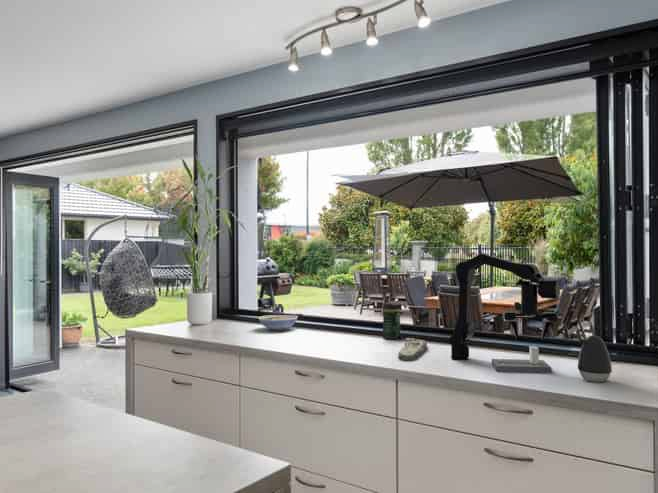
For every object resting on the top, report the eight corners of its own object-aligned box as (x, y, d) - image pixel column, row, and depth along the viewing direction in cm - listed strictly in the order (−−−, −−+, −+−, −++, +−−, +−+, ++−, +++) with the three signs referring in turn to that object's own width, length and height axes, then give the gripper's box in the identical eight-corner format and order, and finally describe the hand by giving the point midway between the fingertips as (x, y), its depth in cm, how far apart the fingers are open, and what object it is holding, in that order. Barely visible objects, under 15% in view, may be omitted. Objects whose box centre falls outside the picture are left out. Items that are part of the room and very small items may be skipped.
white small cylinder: (531, 363, 186) (531, 348, 186) (529, 361, 190) (529, 346, 190) (539, 363, 185) (538, 348, 185) (536, 361, 189) (536, 346, 189)
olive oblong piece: (392, 364, 206) (416, 367, 202) (392, 351, 205) (417, 354, 202) (408, 343, 239) (429, 346, 235) (409, 332, 238) (430, 334, 235)
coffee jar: (394, 340, 250) (393, 302, 250) (380, 338, 255) (379, 302, 255) (403, 337, 258) (402, 301, 258) (390, 335, 263) (389, 300, 263)
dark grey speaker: (571, 377, 174) (570, 333, 175) (599, 376, 175) (598, 332, 175) (588, 385, 164) (587, 338, 164) (618, 383, 165) (618, 337, 165)
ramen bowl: (251, 332, 280) (250, 318, 280) (263, 326, 302) (263, 312, 302) (295, 333, 275) (294, 318, 276) (303, 326, 298) (303, 313, 298)
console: (496, 371, 184) (496, 365, 184) (491, 364, 196) (491, 358, 196) (551, 372, 181) (551, 366, 181) (543, 365, 193) (543, 359, 193)
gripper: (550, 295, 195) (550, 335, 195) (500, 295, 199) (500, 334, 199) (558, 298, 184) (558, 341, 184) (504, 298, 188) (505, 339, 188)
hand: (529, 338), depth 189 cm, fingers open, 9 cm apart
